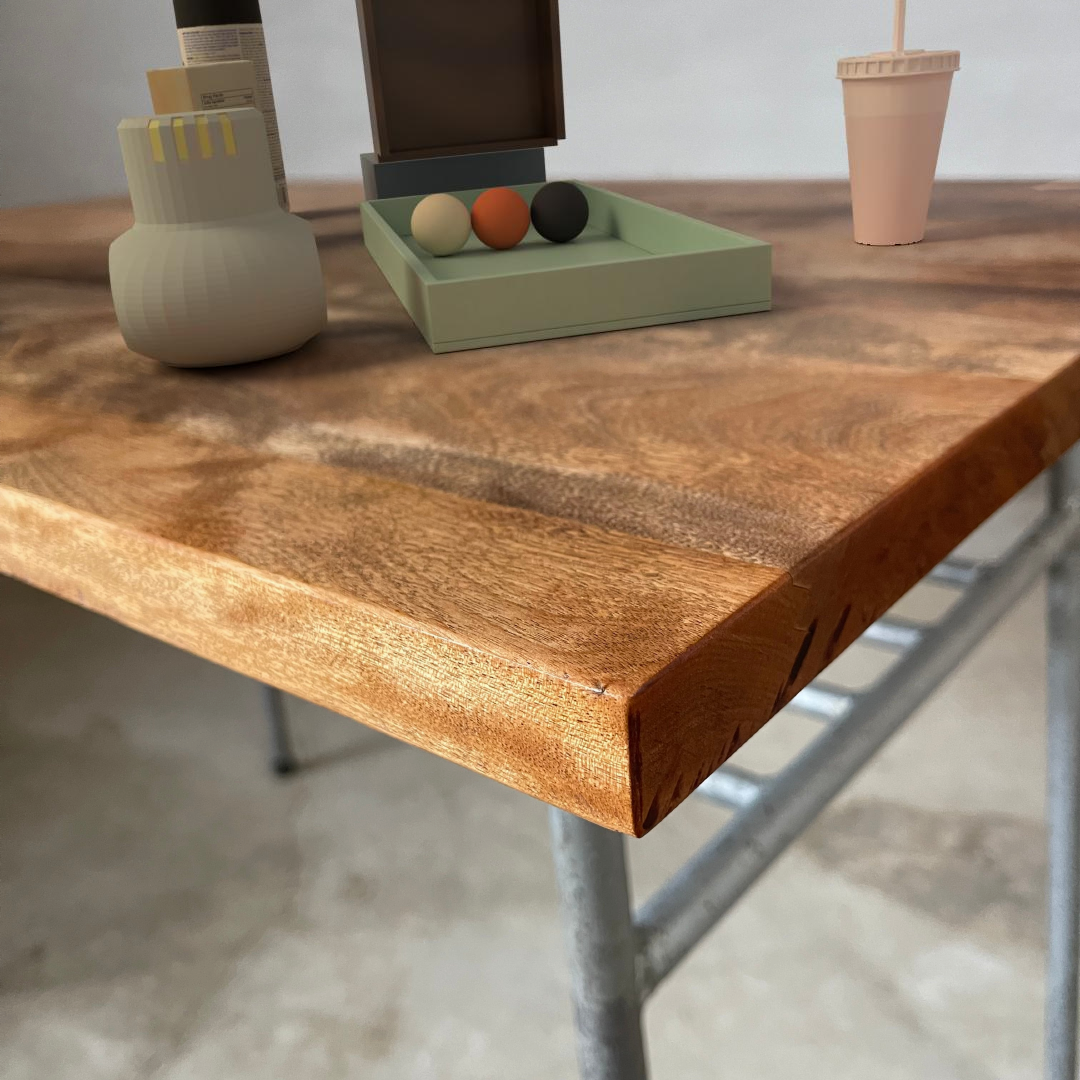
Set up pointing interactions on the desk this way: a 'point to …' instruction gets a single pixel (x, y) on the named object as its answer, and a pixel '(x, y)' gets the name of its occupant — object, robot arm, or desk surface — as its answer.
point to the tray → (568, 273)
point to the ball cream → (441, 224)
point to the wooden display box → (461, 76)
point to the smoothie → (894, 135)
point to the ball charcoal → (559, 211)
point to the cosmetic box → (204, 87)
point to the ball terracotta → (500, 218)
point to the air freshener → (211, 245)
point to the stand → (451, 173)
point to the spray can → (233, 57)
